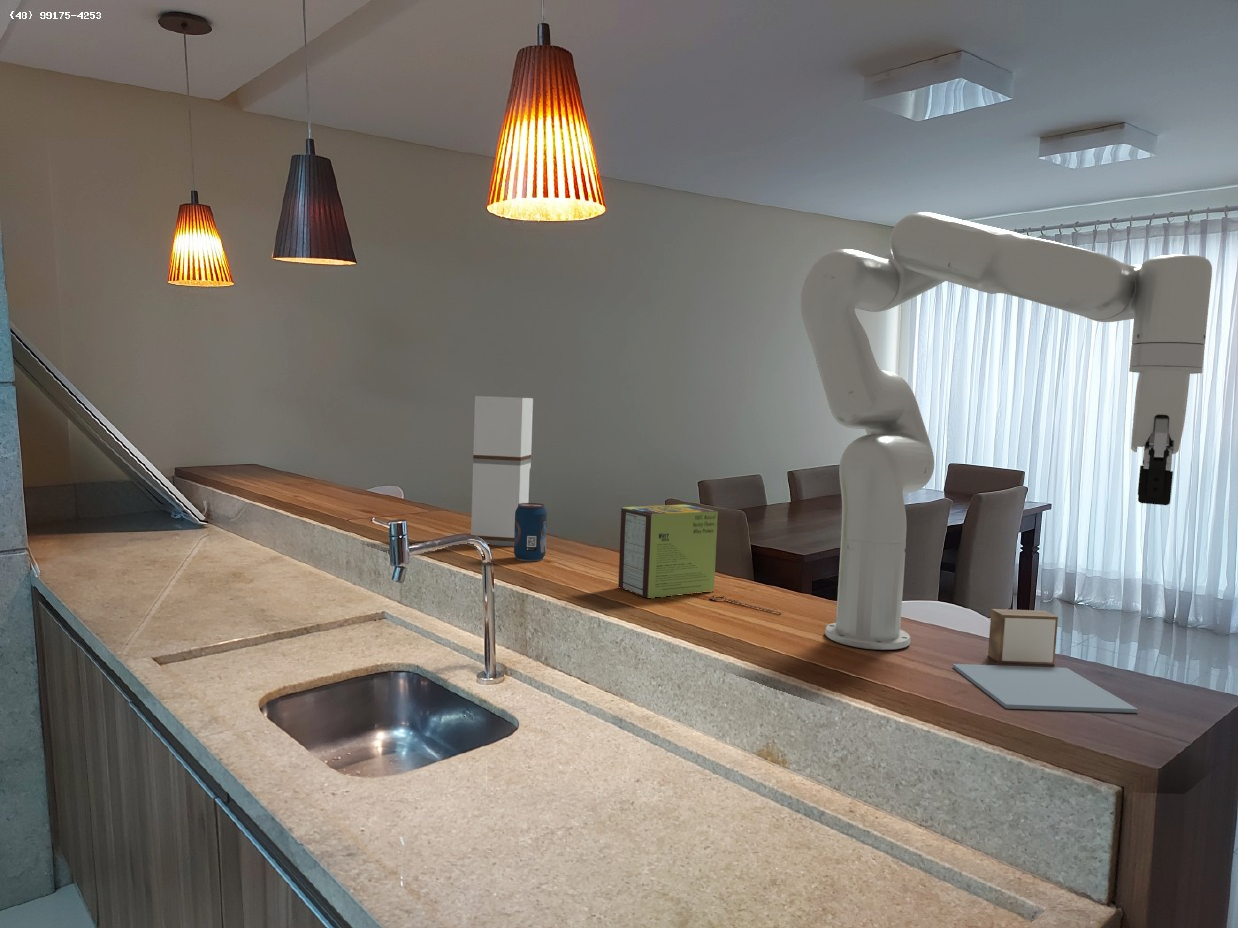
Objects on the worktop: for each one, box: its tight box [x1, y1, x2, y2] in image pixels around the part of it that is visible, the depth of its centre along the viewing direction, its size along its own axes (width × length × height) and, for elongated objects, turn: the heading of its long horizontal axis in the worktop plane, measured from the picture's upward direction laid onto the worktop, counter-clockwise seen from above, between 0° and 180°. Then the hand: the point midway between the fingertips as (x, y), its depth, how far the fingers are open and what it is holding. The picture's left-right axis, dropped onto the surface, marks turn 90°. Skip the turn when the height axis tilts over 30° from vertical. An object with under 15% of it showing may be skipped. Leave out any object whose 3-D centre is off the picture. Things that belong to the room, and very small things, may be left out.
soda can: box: [513, 502, 548, 562], centre depth 186 cm, size 7×7×12 cm
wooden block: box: [987, 608, 1059, 665], centre depth 124 cm, size 4×8×7 cm, turn 91°
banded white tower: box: [470, 395, 534, 547], centre depth 206 cm, size 11×11×35 cm
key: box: [709, 595, 781, 614], centre depth 152 cm, size 6×1×15 cm
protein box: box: [617, 504, 719, 599], centre depth 161 cm, size 10×15×16 cm
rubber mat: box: [952, 663, 1138, 714], centre depth 111 cm, size 16×16×1 cm
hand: (1152, 500), depth 105 cm, fingers open, 9 cm apart
